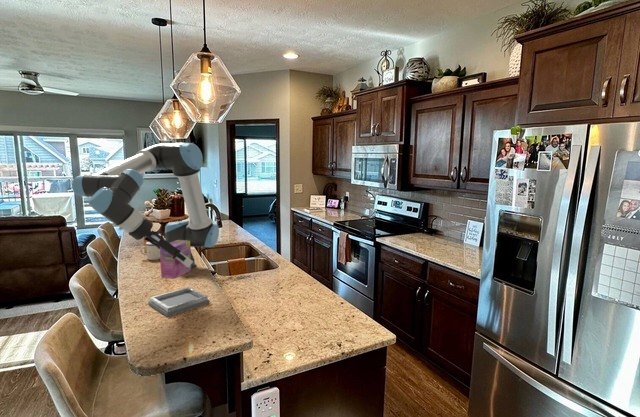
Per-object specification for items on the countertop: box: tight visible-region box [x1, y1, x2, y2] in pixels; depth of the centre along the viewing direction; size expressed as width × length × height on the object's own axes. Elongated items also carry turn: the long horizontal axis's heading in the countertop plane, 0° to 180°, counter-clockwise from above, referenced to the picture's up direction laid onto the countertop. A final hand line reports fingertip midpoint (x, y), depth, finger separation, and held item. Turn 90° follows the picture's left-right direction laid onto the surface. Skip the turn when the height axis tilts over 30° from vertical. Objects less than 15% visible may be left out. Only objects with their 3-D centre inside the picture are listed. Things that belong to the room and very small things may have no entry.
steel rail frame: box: [149, 286, 209, 313], centre depth 128 cm, size 15×15×2 cm
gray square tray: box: [147, 292, 211, 318], centre depth 128 cm, size 16×16×1 cm
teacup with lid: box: [139, 242, 160, 261], centre depth 192 cm, size 12×9×12 cm
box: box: [159, 240, 192, 280], centre depth 126 cm, size 10×6×12 cm, turn 168°
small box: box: [143, 233, 162, 253], centre depth 209 cm, size 8×6×10 cm
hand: (184, 261), depth 128 cm, fingers closed on box, 10 cm apart
